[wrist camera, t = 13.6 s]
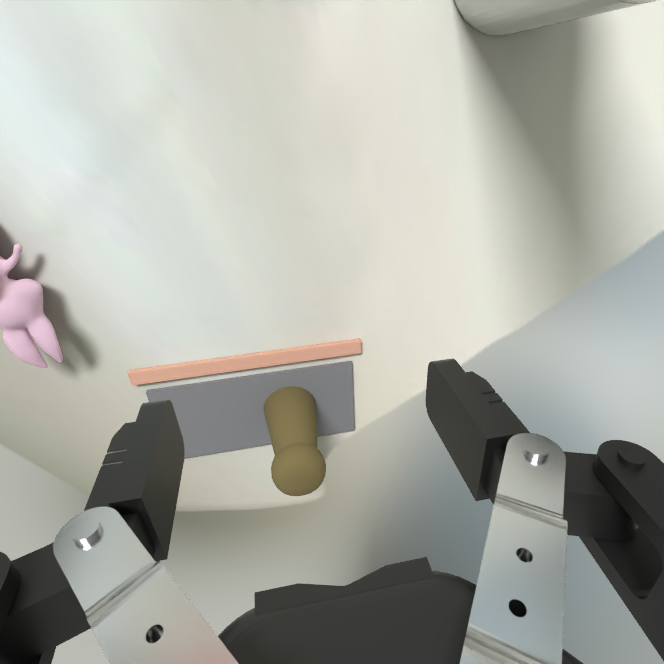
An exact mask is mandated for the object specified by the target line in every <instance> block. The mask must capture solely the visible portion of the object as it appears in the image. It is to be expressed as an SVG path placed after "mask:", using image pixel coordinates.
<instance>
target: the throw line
mask: <svg viewBox="0 0 664 664" xmlns="http://www.w3.org/2000/svg"><path fill="white" fill-rule="evenodd" d="M359 353H361V341H360V339H353V340H346V341H339V342H331V343H324V344H317V345H310V346H302V347H295V348H288V349H280V350H273V351H266V352H258V353H251V354H244V355H237V356H229V357H222V358H215V359H207V360H200V361H193V362H185V363H178V364H171V365H164V366H156V367H149V368H142V369H134V370H129V372H128V375H129V378H130V381H131V384H132V385H139V384H147V383H154V382H161V381H168V380H175V379H182V378H189V377H196V376H203V375H210V374H217V373H224V372H231V371H238V370H245V369H253V368H260V367H267V366H274V365H281V364H288V363H295V362H302V361H309V360H316V359H323V358H330V357H337V356H344V355H351V354H359Z"/></svg>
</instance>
